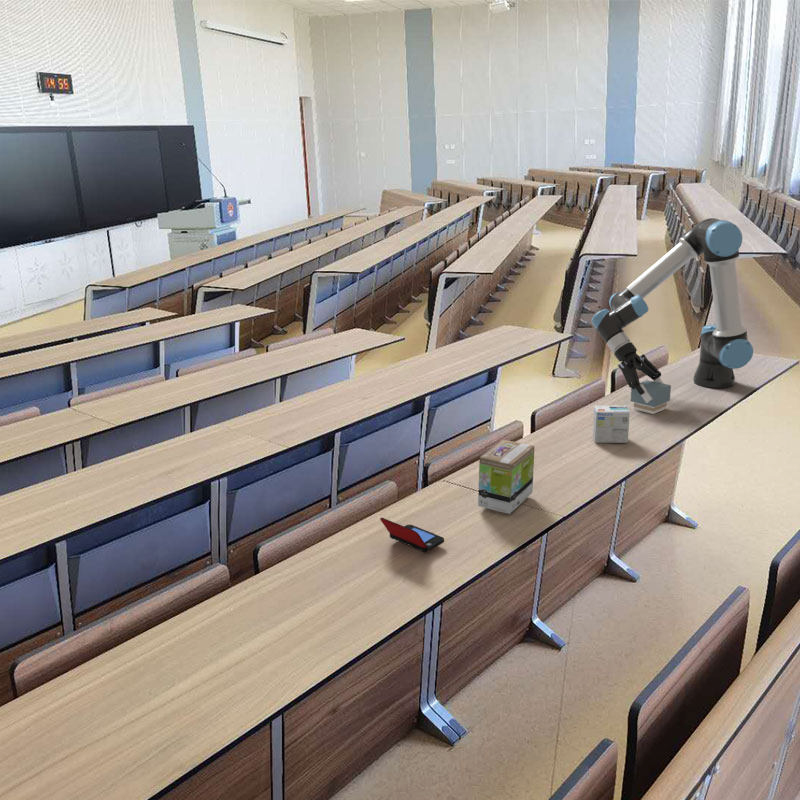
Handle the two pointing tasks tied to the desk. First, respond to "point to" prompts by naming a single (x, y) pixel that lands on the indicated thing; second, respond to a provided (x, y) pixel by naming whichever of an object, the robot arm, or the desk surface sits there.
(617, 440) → the light bulb box
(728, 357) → the robot arm
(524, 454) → the tea box
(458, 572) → the desk surface
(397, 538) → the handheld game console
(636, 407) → the carton
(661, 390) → the grey-blue square block
